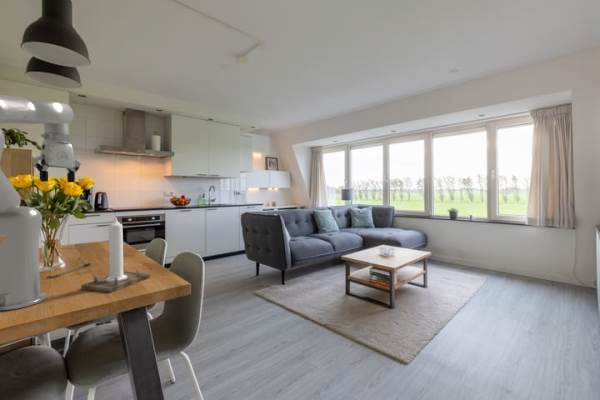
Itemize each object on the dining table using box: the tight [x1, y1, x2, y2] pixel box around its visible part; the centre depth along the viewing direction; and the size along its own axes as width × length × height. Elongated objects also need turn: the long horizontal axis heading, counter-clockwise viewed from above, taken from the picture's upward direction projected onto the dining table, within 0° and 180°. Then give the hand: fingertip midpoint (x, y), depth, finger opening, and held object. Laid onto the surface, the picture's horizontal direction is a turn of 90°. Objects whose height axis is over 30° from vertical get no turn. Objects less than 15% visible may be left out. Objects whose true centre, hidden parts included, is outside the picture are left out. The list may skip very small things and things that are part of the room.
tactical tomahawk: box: [46, 262, 92, 279], centre depth 126 cm, size 21×7×1 cm, turn 176°
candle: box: [106, 216, 127, 282], centre depth 109 cm, size 7×7×25 cm
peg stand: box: [80, 269, 151, 294], centre depth 110 cm, size 18×14×4 cm
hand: (58, 181), depth 111 cm, fingers open, 9 cm apart
